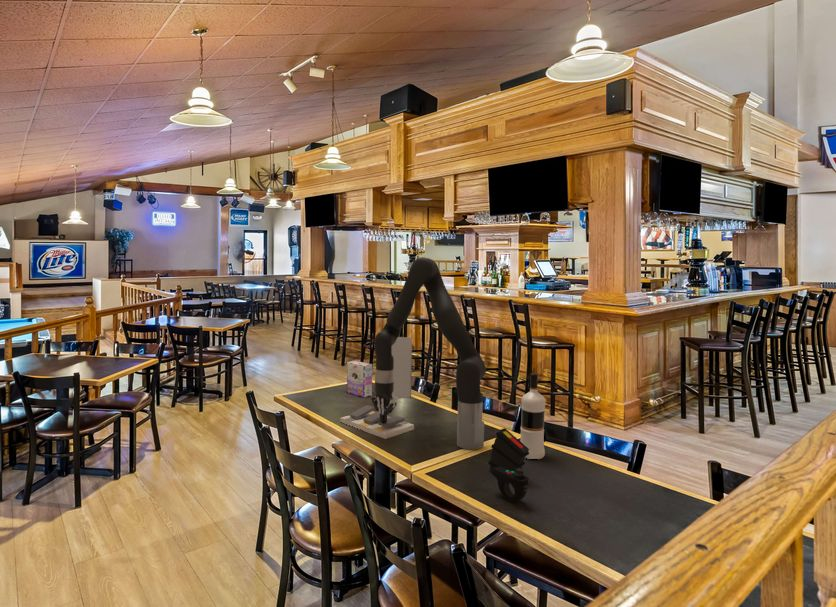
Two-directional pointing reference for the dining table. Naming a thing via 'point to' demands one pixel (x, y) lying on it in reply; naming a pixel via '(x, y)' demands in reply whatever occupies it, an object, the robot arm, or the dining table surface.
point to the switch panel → (378, 426)
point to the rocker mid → (372, 418)
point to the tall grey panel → (402, 367)
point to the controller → (511, 482)
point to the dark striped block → (507, 451)
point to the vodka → (533, 420)
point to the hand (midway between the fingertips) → (383, 422)
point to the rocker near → (392, 421)
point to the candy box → (359, 378)
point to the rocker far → (362, 412)
